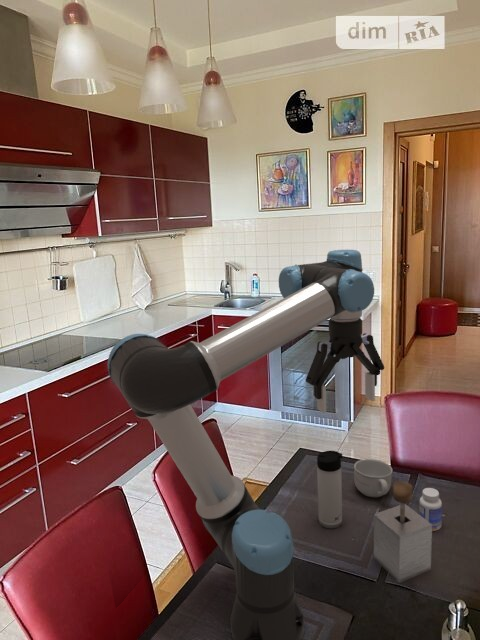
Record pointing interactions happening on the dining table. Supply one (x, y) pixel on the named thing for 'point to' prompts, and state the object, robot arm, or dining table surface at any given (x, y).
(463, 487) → the dining table surface
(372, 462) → the teacup
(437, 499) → the pill bottle
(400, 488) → the plunger
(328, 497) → the travel mug
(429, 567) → the grey block with hole
